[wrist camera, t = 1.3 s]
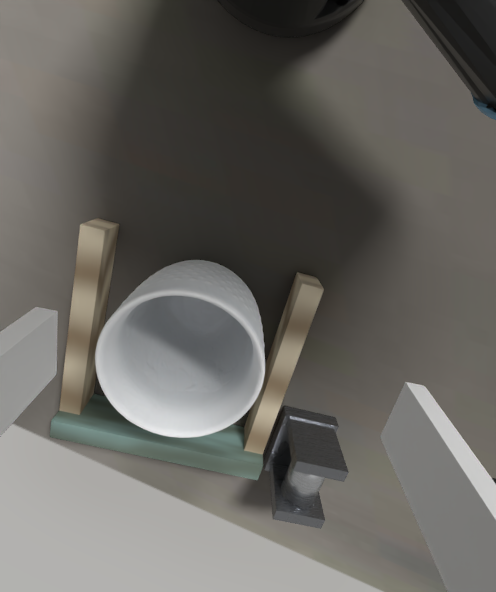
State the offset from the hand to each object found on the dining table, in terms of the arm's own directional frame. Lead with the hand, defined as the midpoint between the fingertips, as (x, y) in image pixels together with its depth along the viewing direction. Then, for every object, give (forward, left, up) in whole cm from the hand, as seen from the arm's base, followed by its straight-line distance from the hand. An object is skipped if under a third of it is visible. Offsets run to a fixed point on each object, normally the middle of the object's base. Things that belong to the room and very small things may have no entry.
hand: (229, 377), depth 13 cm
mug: (+7, -3, -21) cm, 23 cm away
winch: (+20, +12, -21) cm, 31 cm away
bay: (+11, -3, -21) cm, 24 cm away
